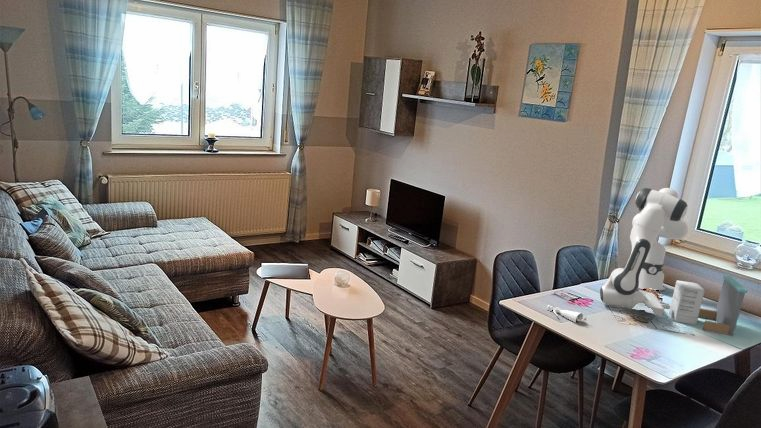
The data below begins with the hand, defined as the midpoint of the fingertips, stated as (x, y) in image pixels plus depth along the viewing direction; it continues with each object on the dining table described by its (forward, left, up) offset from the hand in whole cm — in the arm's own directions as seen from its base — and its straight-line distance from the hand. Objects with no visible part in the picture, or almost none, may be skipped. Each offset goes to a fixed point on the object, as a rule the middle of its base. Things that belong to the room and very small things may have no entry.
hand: (669, 306), depth 245 cm
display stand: (0, +19, -5) cm, 19 cm away
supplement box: (0, +6, -5) cm, 8 cm away
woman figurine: (+24, -47, -6) cm, 53 cm away
